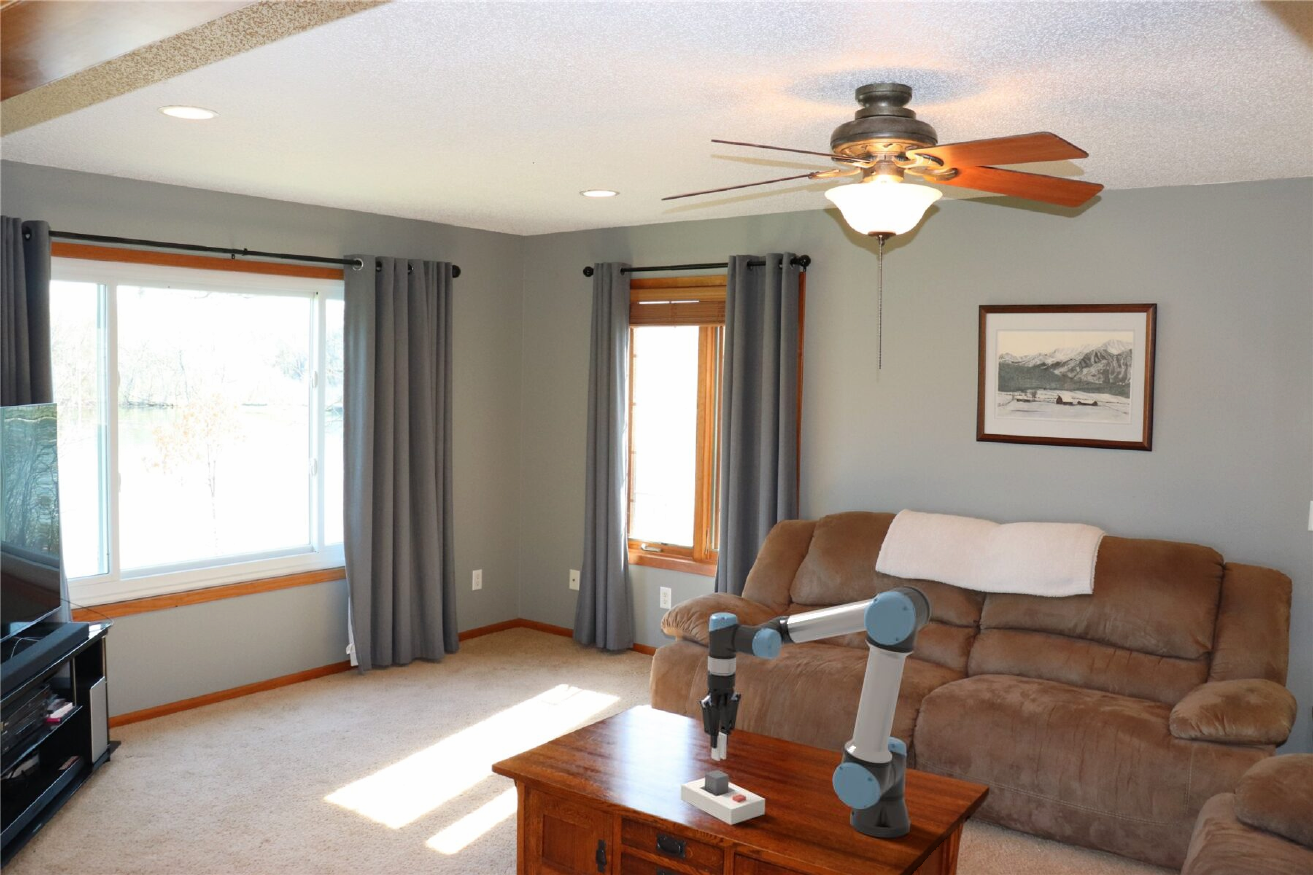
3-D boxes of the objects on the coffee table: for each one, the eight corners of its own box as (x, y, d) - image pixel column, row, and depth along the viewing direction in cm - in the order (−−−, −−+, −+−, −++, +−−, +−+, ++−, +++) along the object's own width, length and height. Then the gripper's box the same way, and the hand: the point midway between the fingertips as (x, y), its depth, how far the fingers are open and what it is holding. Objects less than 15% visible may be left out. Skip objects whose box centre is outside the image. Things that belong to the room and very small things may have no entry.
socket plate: (764, 813, 274) (765, 795, 274) (730, 824, 267) (731, 806, 267) (714, 789, 290) (714, 772, 290) (680, 798, 282) (681, 781, 282)
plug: (727, 804, 280) (728, 774, 280) (715, 807, 277) (716, 778, 277) (716, 798, 284) (717, 769, 283) (704, 802, 281) (705, 773, 280)
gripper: (732, 664, 285) (729, 748, 287) (691, 672, 276) (689, 759, 278) (750, 670, 280) (747, 757, 281) (710, 679, 271) (707, 768, 272)
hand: (718, 758), depth 279 cm, fingers closed
